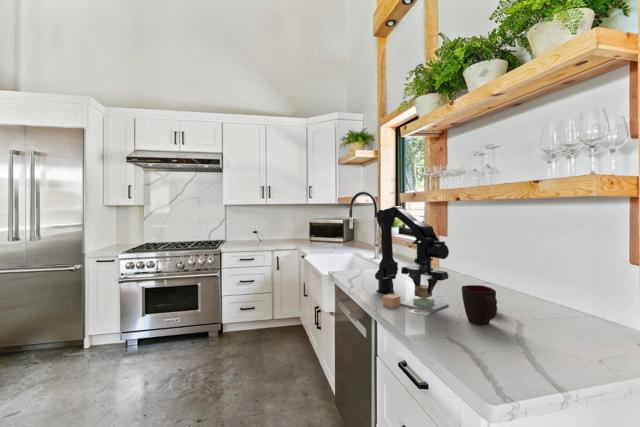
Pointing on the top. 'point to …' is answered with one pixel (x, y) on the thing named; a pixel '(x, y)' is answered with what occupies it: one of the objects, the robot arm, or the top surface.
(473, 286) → the cup
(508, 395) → the top surface
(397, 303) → the brick terracotta
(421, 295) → the brown block
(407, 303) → the plate
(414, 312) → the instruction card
